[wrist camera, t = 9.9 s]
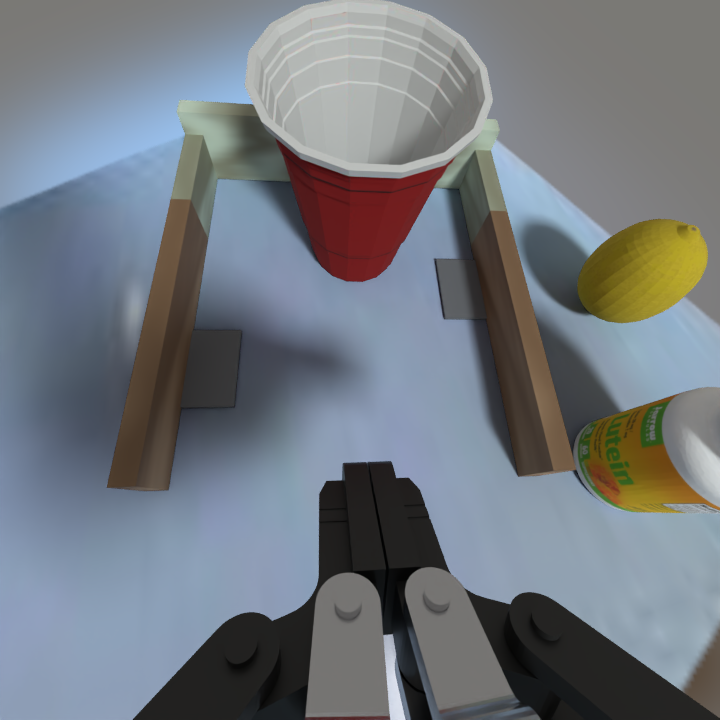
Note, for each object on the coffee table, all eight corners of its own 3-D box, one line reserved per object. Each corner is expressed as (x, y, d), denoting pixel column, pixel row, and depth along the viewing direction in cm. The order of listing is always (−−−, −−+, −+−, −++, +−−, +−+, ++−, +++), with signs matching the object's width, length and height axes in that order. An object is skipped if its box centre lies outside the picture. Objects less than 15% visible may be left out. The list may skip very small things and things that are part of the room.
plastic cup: (260, 300, 24) (202, 120, 13) (298, 187, 28) (279, -22, 17) (417, 330, 24) (495, 177, 13) (431, 213, 28) (498, 23, 17)
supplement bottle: (564, 416, 22) (722, 354, 13) (645, 425, 23) (852, 371, 14) (577, 507, 20) (774, 506, 11) (666, 516, 20) (928, 523, 12)
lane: (144, 491, 19) (85, 485, 14) (203, 167, 28) (179, 99, 23) (537, 475, 21) (597, 466, 16) (470, 179, 30) (496, 119, 25)
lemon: (587, 266, 27) (682, 177, 20) (642, 319, 26) (767, 244, 18) (538, 296, 26) (622, 213, 18) (594, 355, 24) (709, 289, 17)
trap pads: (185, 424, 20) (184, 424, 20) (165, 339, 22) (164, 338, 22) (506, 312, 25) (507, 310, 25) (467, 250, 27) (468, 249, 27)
